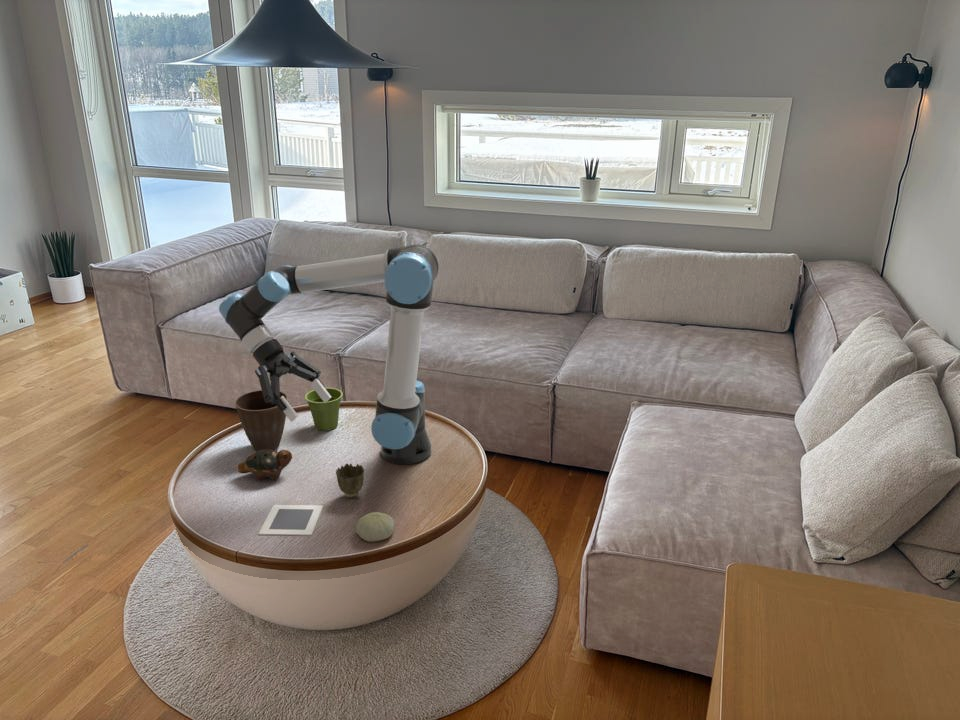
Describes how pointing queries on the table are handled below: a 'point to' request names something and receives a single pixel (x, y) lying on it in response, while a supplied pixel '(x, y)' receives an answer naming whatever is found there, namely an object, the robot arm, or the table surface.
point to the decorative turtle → (265, 463)
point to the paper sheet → (291, 520)
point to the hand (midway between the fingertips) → (312, 409)
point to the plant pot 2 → (324, 409)
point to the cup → (350, 479)
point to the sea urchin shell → (375, 526)
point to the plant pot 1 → (261, 420)
